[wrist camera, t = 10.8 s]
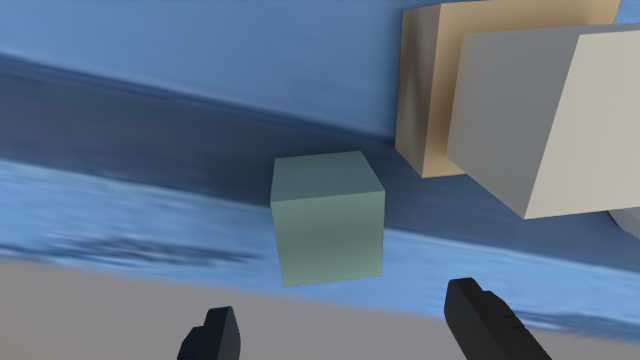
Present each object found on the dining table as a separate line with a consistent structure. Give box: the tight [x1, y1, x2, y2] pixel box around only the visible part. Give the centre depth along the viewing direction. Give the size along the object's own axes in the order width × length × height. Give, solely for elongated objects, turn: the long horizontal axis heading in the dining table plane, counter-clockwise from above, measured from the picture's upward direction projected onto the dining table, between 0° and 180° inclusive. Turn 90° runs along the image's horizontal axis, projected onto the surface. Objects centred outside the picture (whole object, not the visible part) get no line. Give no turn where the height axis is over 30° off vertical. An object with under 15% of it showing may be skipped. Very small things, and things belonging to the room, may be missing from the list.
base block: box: [395, 0, 621, 178], centre depth 14 cm, size 7×7×4 cm
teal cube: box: [270, 151, 385, 287], centre depth 16 cm, size 5×5×5 cm
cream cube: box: [446, 23, 640, 219], centre depth 10 cm, size 5×5×5 cm
